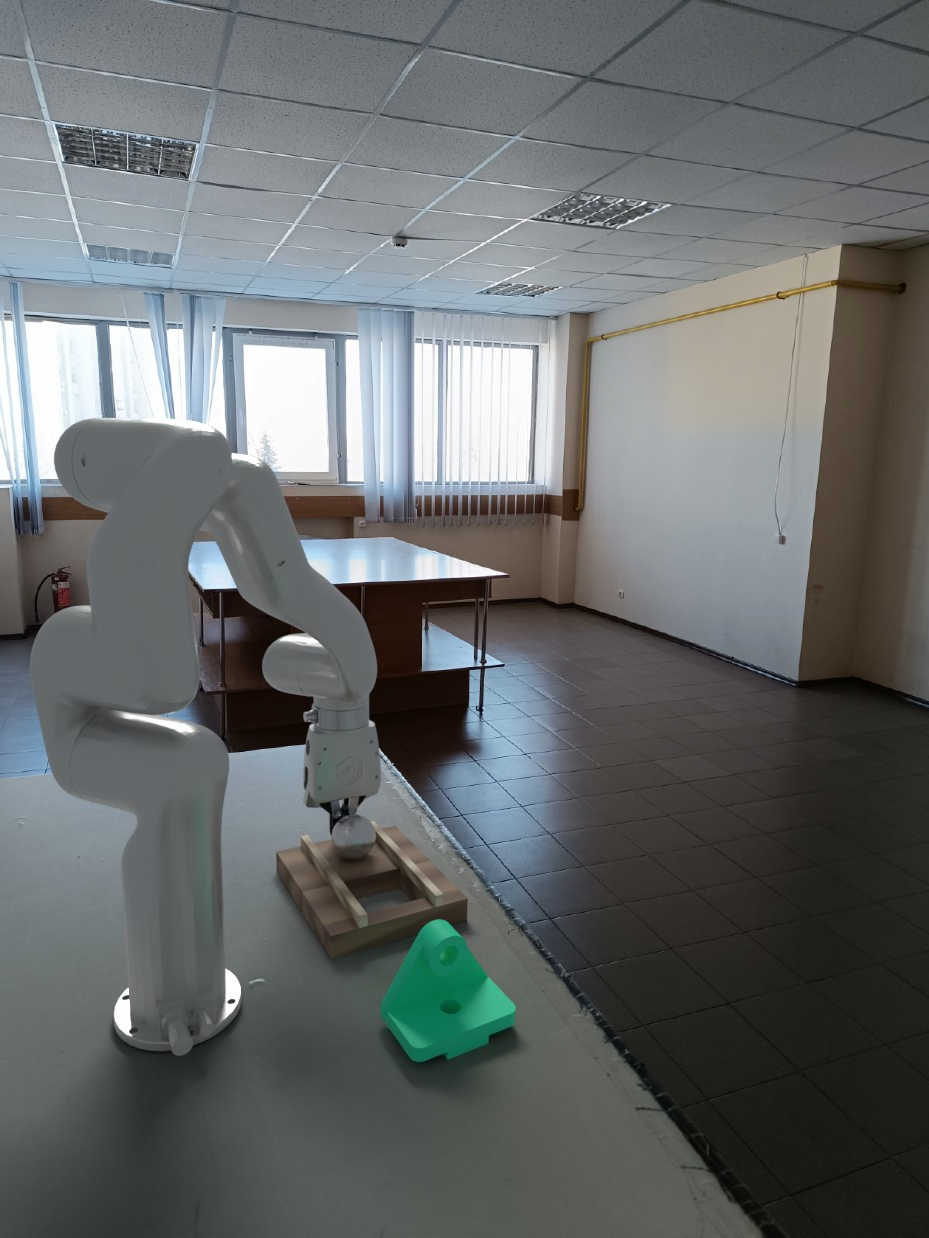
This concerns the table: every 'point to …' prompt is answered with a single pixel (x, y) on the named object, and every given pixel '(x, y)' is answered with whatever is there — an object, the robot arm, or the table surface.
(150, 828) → the robot arm
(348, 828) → the steel ball
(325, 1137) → the table surface
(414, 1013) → the camera mount
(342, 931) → the walnut board
